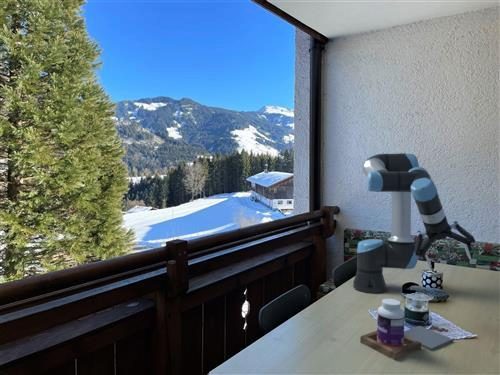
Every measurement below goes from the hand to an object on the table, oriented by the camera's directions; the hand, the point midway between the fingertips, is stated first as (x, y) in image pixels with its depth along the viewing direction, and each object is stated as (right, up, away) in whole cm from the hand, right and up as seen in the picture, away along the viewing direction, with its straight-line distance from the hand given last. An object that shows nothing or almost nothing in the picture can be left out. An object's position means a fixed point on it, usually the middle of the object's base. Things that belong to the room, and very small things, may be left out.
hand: (449, 261), depth 134 cm
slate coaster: (-16, -23, -14) cm, 32 cm away
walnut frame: (-30, -23, -19) cm, 42 cm away
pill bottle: (-30, -23, -19) cm, 42 cm away
